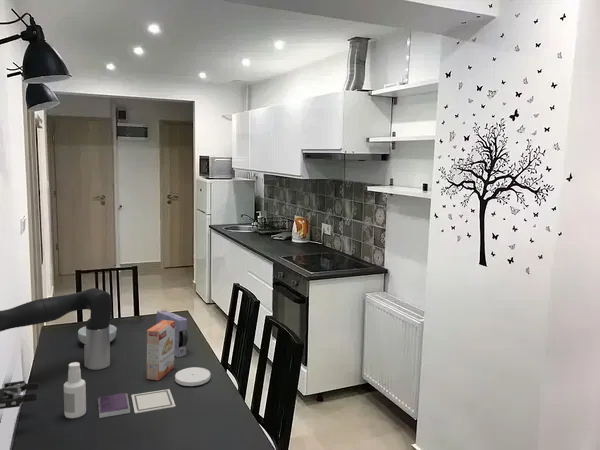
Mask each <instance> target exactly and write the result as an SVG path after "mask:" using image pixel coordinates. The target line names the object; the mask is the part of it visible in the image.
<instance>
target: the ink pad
mask: <svg viewBox="0 0 600 450" xmlns="http://www.w3.org/2000/svg"><path fill="white" fill-rule="evenodd" d="M128 395H129V394H128V393H126V392H123V393H115V394H110V395H103V396H99V397H98V398H97V402H98V404H97V405H98V418H99V419H102V418H103V419H104V418H108V417H113V416H114V417H115V416H119V415H121V416H122V415H125V414H131V406H130V402H129V396H128Z"/></svg>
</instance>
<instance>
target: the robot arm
mask: <svg viewBox="0 0 600 450" xmlns="http://www.w3.org/2000/svg"><path fill="white" fill-rule="evenodd" d="M112 304H113V300H112V296H111V294H110V293H109V292H108V291H105V290H103V289H100V288H98V287H97V288H96V287H95V288H93V287H92V288H87V289H85V290H81V291H79V292H75V293H71V294H63V295H57V296H52V297H51V296H50V297H46V298H40V299H35V300H32V301H28V302H25V303H21V304H20V305H16V306H14V307H11V308H8V309H3V310H0V333H1V332H3V331H8V330H10V329H16V328H23V327H29V326H33V325H40V324H44V323H49V322H53V321H56V320H58V319H60V318H62V317H64V316H65V315H67V314H69V313H73V312H77V311H81V310H89V311H90V318H88V319H87V320H86V321H85V326H86V344H84V345H83V347H84V348H83V349H84V354H83V356H84V357H83V358H84V367H85V368H87V369H88V370H93V371H95V370H102V369H105V368H108V367H109V366H110V365H111V344H110V343H111V341H110V329H109V325H110V322H111V321H112V314H113V313H112V311H113V310H112V309H113V305H112ZM39 388H40V382H36V381H35V382H30V383H27V382H26V381H25V380H20V381H12V382H6V383H4V387H2V388H0V410H2V409H9V408H11V409H12V408H18V407H20V406H21V405H22V404H24V403H27V402H35V401H37V400H38V399H37V398H38V396H37V395H38V394H37V393H36V392H35V393H28V394H27V393H26V394H23V395H22V394H21V393H22V392H26V391H34V390H35V391H36V390H39Z"/></svg>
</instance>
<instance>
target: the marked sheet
mask: <svg viewBox="0 0 600 450" xmlns="http://www.w3.org/2000/svg"><path fill="white" fill-rule="evenodd" d="M131 401H132V405H133V411H134V414H140V413H141V414H142V413H147V412H153V411H158V410H163V409H164V410H165V409H170V408H175V407H176V404H175V403H176V402H175V401H174V397H173V395H172V392H171V390H170V388H168V389H161V390H160V389H159V390H155V391H148V392H147V391H146V392H142V393H135V394H131Z"/></svg>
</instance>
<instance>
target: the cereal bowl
mask: <svg viewBox="0 0 600 450" xmlns="http://www.w3.org/2000/svg"><path fill="white" fill-rule="evenodd" d="M109 329H110V342H112V341H113V340H114V339H115V338H116V335H117V330H118V329H117V327H116V326H115V325H113V324H109ZM77 335H78V340H79V341H80V342H81V343H82V344H84V345H86V325H84V326H83V327H81V328H79V330H78V331H77Z"/></svg>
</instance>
